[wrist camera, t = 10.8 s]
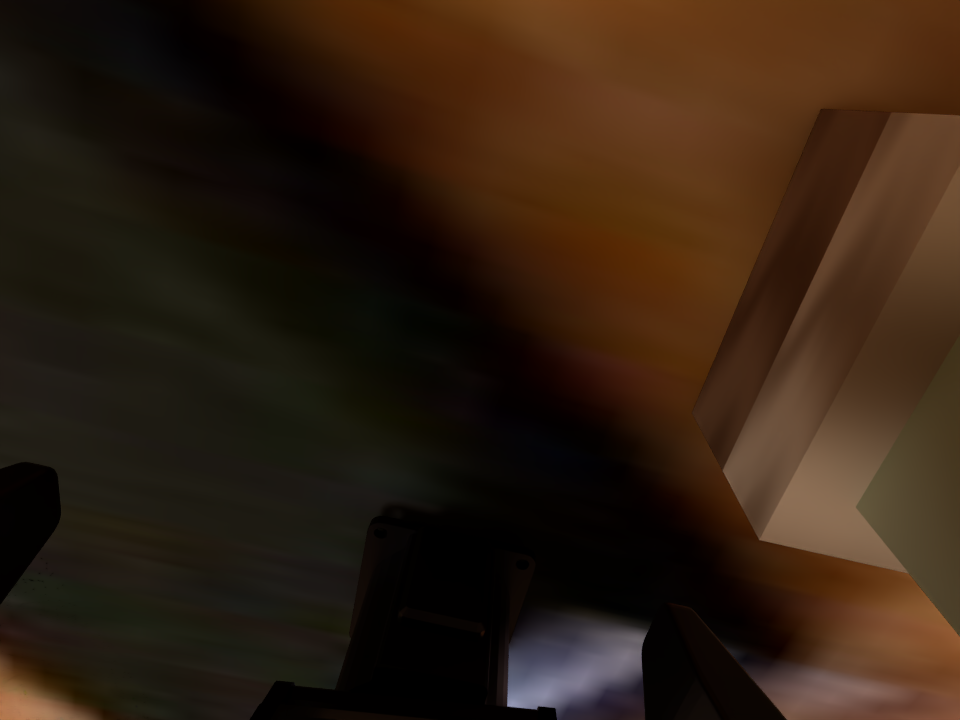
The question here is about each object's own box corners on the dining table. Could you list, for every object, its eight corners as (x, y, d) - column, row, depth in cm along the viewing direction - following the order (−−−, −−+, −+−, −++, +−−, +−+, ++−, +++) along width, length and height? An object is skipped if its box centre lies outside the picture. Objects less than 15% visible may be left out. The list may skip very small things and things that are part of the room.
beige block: (910, 463, 21) (1063, 608, 15) (691, 413, 21) (759, 540, 15) (1091, 175, 17) (1400, 218, 11) (820, 109, 17) (985, 116, 11)
